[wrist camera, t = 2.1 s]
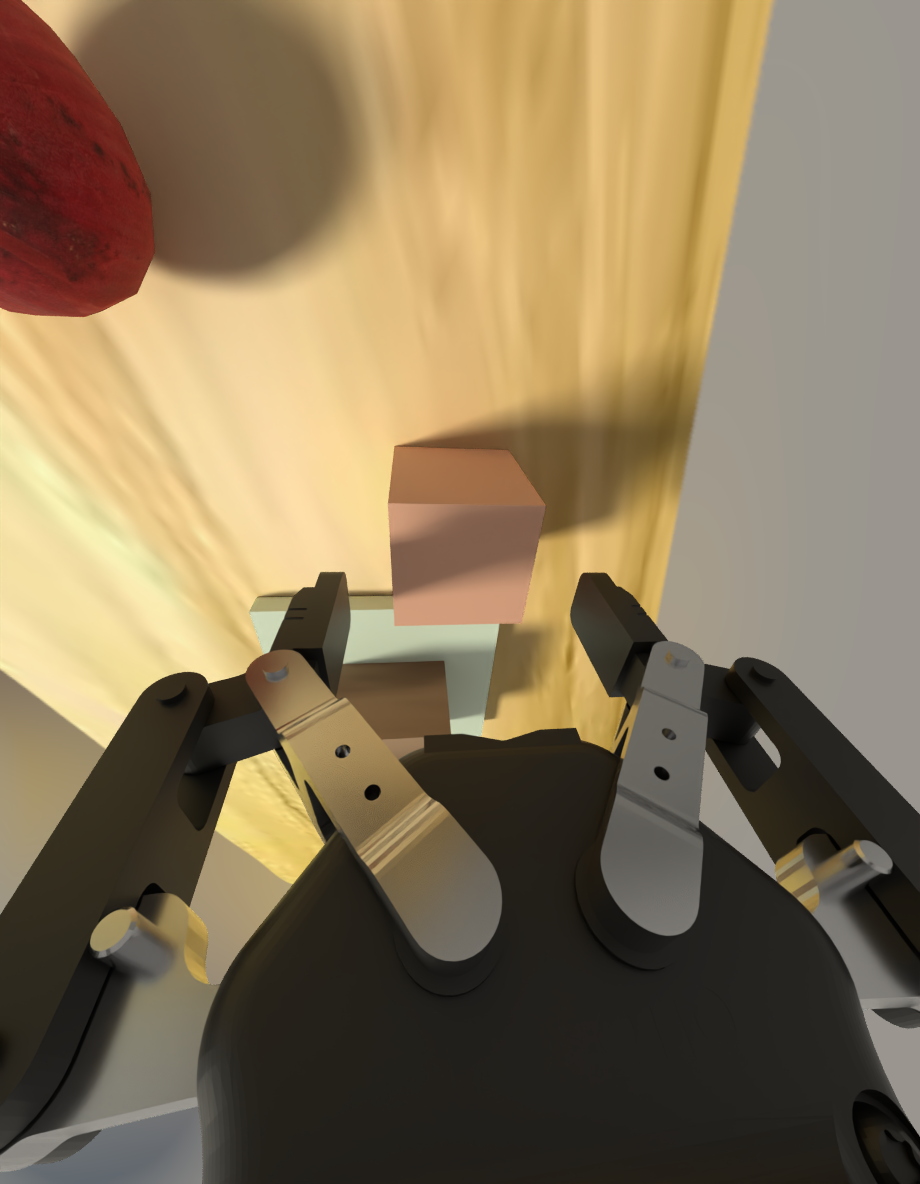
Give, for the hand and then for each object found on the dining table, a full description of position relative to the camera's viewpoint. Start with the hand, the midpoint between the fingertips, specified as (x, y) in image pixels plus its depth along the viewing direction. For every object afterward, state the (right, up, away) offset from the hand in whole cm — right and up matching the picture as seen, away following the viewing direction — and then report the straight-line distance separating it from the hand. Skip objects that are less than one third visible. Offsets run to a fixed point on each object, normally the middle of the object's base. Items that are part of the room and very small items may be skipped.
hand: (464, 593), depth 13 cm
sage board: (-5, -5, +11) cm, 13 cm away
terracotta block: (-1, +4, +5) cm, 7 cm away
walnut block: (-4, -7, +11) cm, 14 cm away
